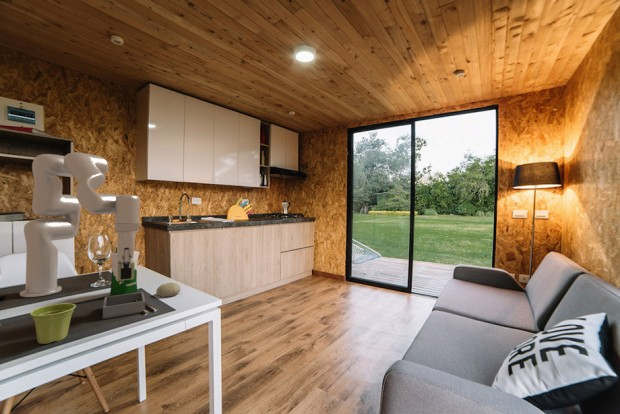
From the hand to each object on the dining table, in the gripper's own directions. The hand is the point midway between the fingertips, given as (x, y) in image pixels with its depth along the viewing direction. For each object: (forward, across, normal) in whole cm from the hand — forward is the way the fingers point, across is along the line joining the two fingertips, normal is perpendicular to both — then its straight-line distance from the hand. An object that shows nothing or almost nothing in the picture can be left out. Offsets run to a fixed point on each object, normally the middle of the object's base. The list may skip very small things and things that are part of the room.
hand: (125, 276), depth 99 cm
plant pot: (+13, +15, -17) cm, 26 cm away
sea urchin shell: (+13, -11, +16) cm, 23 cm away
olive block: (+1, 0, 0) cm, 1 cm away
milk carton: (+12, -22, 0) cm, 26 cm away
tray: (+12, 0, 0) cm, 12 cm away
